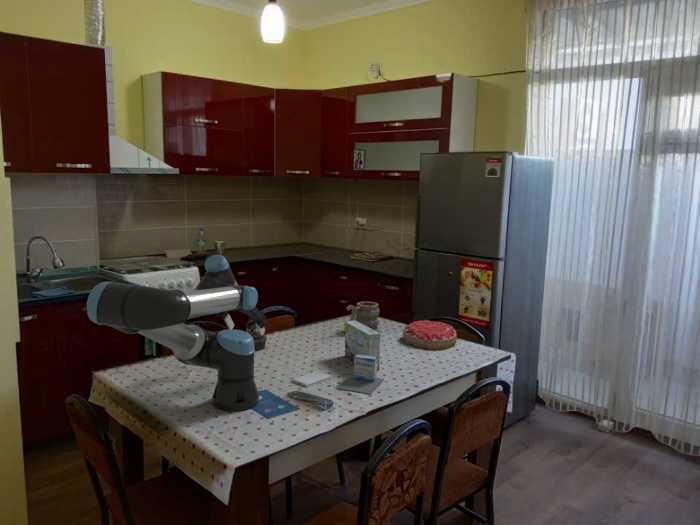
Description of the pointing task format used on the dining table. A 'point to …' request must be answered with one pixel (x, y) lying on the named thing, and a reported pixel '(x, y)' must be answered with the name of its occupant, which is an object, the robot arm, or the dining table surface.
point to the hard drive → (311, 379)
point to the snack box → (361, 341)
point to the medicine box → (365, 368)
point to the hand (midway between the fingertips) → (247, 330)
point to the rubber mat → (359, 385)
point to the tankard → (366, 314)
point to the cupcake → (257, 338)
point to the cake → (430, 334)
